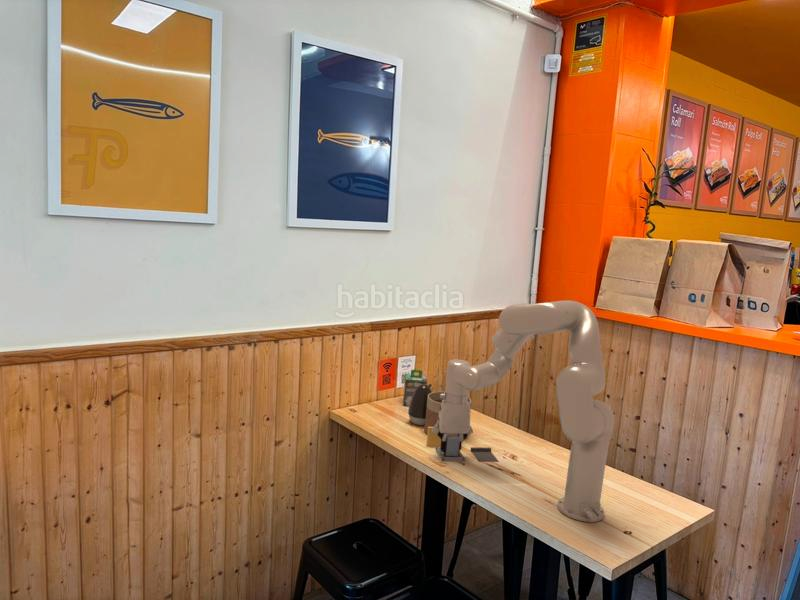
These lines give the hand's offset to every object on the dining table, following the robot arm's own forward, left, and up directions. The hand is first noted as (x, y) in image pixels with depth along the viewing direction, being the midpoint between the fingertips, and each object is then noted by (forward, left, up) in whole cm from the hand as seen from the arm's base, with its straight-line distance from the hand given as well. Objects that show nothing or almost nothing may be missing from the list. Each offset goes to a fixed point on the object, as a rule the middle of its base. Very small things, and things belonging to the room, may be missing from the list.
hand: (450, 451), depth 192 cm
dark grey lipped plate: (0, -12, -2) cm, 12 cm away
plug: (0, 0, -1) cm, 1 cm away
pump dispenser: (+31, +3, -2) cm, 31 cm away
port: (+2, 0, -2) cm, 3 cm away
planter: (+20, -4, -2) cm, 21 cm away
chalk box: (+54, +1, -2) cm, 54 cm away
